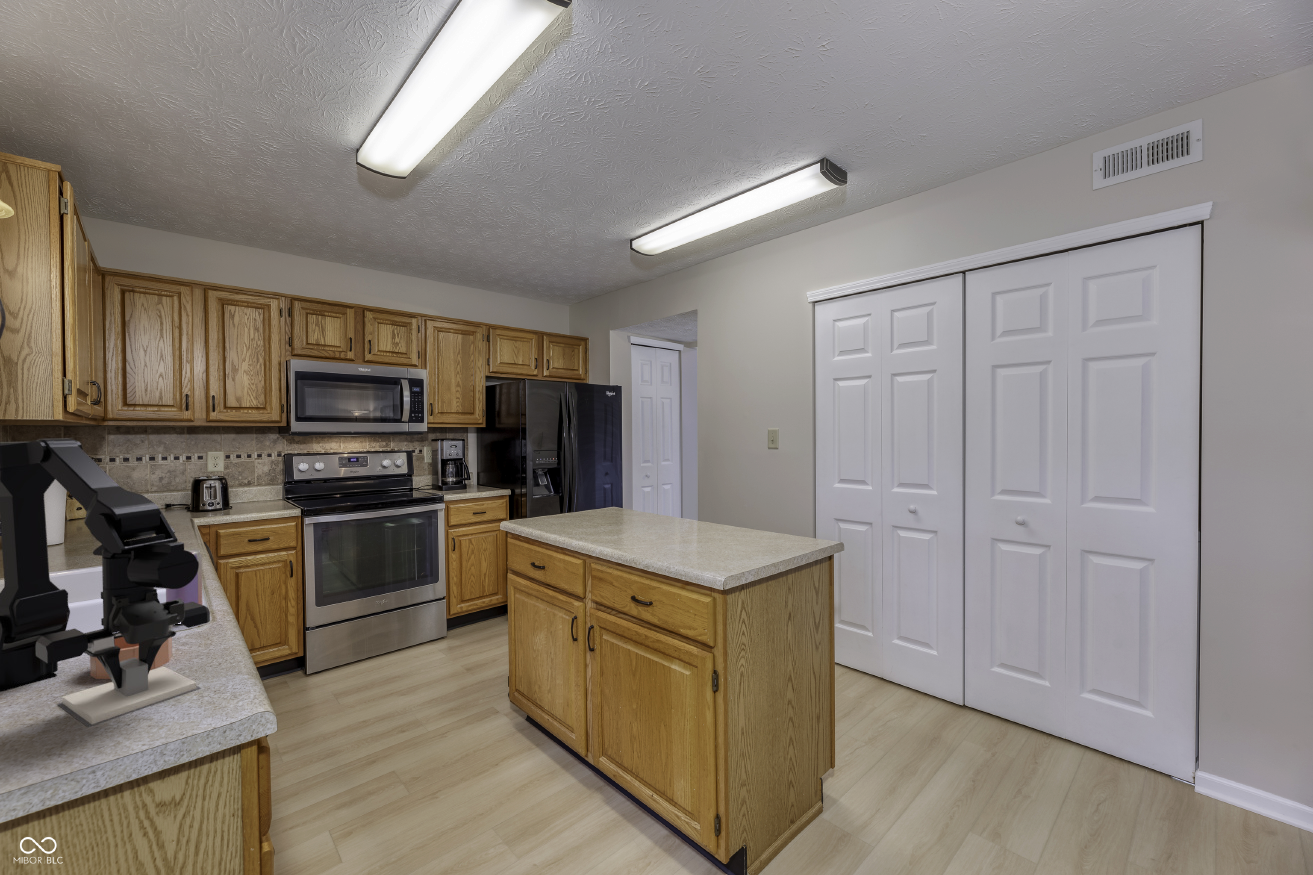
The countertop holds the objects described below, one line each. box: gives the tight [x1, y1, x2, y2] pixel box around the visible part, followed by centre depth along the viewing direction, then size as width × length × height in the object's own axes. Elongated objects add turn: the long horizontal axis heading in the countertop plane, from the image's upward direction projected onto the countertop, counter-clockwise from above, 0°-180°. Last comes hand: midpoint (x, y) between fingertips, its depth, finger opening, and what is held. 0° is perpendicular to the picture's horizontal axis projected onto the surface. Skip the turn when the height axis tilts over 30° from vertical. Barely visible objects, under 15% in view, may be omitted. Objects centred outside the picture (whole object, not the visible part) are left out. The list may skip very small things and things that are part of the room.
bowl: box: [89, 637, 173, 680], centre depth 96 cm, size 10×10×5 cm
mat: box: [56, 685, 202, 728], centre depth 85 cm, size 13×13×1 cm
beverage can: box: [165, 549, 204, 605], centre depth 119 cm, size 6×6×15 cm
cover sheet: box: [61, 658, 197, 724], centre depth 85 cm, size 12×12×5 cm
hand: (130, 684), depth 85 cm, fingers closed on cover sheet, 2 cm apart
